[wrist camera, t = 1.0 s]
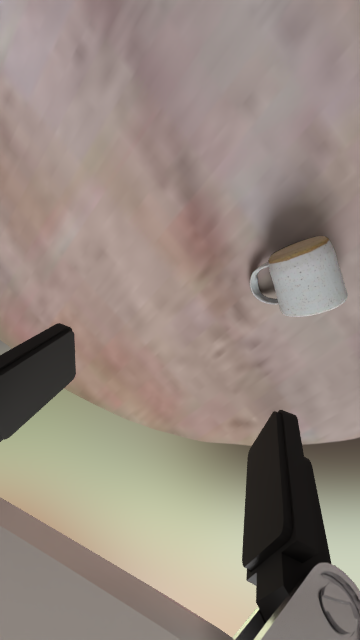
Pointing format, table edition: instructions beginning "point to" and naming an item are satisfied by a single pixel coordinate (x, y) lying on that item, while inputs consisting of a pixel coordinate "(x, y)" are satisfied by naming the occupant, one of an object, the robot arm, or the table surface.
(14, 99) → the table surface
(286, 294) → the ceramic mug
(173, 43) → the table surface
